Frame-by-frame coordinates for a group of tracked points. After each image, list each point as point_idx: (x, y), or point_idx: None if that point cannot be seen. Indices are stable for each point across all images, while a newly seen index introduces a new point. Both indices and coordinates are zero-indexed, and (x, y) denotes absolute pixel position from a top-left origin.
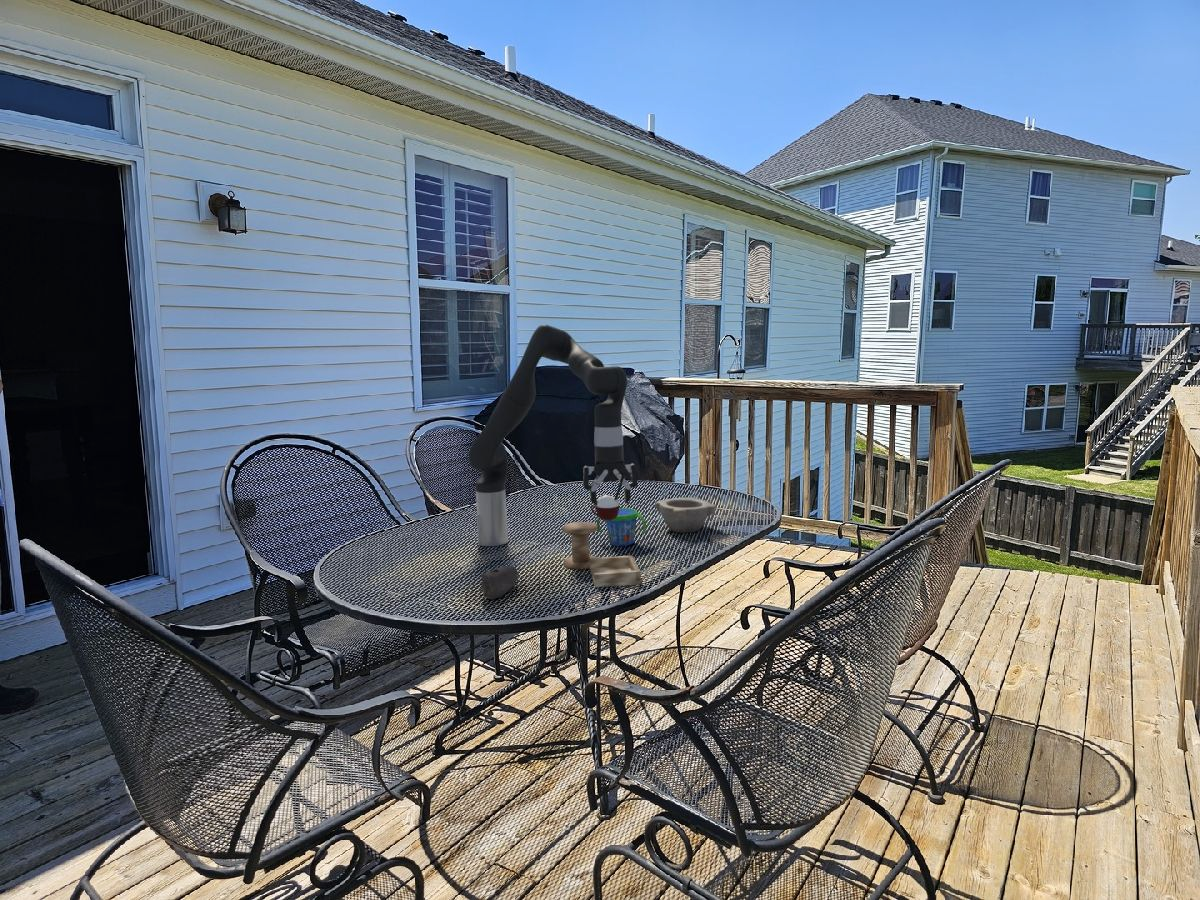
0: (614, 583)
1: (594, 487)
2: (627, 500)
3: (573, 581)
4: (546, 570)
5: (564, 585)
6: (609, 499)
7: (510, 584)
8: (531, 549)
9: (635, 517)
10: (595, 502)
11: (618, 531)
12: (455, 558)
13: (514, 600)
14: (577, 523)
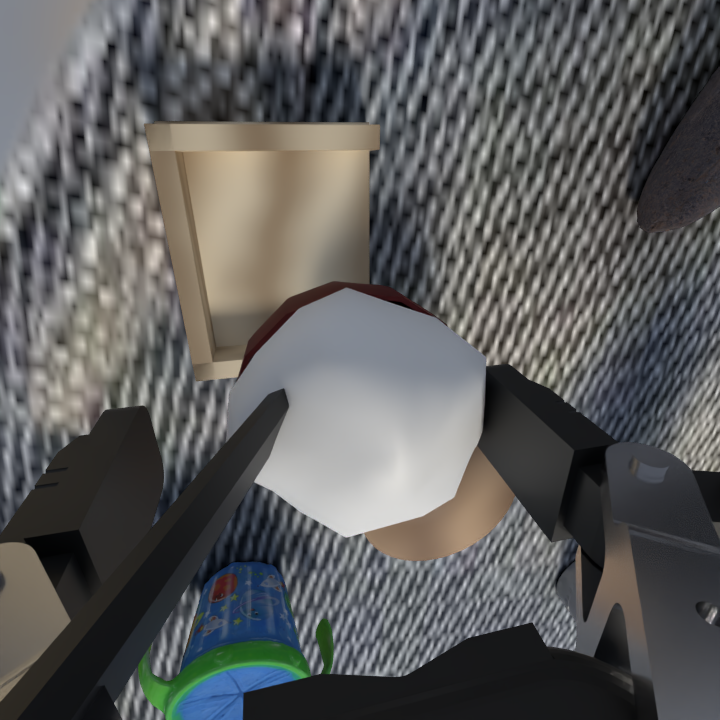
0: (282, 122)
1: (655, 489)
2: (106, 423)
3: (439, 219)
4: (507, 352)
5: (477, 176)
6: (363, 341)
7: (691, 124)
8: (512, 532)
9: (176, 676)
10: (504, 372)
11: (254, 602)
12: (700, 468)
13: (675, 27)
14: (443, 540)
